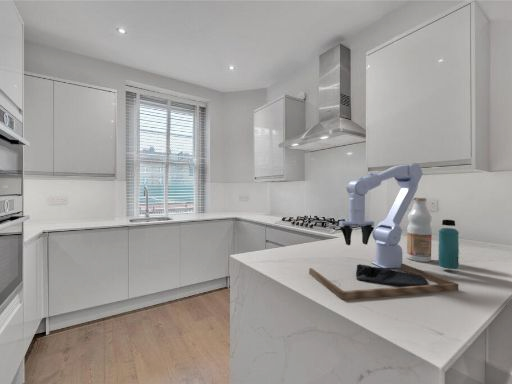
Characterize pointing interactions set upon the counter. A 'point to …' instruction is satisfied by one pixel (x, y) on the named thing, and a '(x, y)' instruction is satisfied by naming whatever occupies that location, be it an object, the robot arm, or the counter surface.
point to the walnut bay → (368, 293)
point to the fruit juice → (419, 232)
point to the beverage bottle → (448, 246)
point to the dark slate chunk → (389, 276)
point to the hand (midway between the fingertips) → (356, 244)
